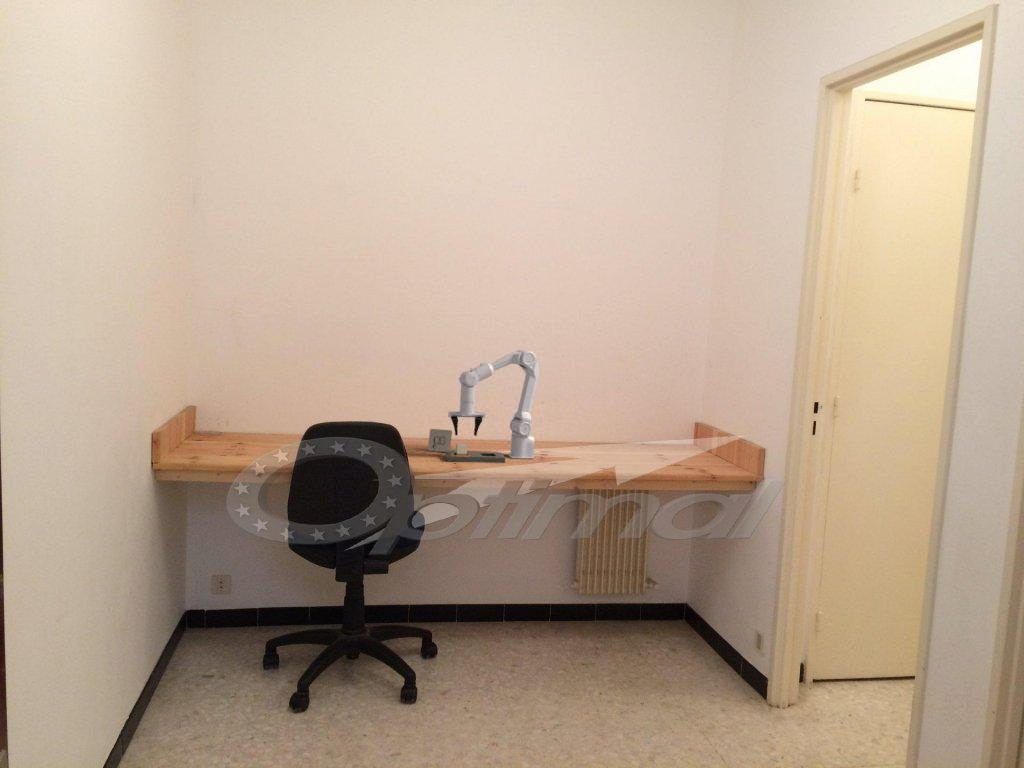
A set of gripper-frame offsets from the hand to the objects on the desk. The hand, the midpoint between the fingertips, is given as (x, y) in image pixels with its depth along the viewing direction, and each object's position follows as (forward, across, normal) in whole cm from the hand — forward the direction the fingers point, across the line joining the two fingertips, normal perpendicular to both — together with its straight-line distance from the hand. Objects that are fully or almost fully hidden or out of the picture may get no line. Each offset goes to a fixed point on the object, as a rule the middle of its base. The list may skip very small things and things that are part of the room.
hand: (465, 435), depth 316 cm
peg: (+9, +2, +2) cm, 10 cm away
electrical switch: (+10, +9, -14) cm, 19 cm away
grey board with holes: (+9, -4, +2) cm, 10 cm away
